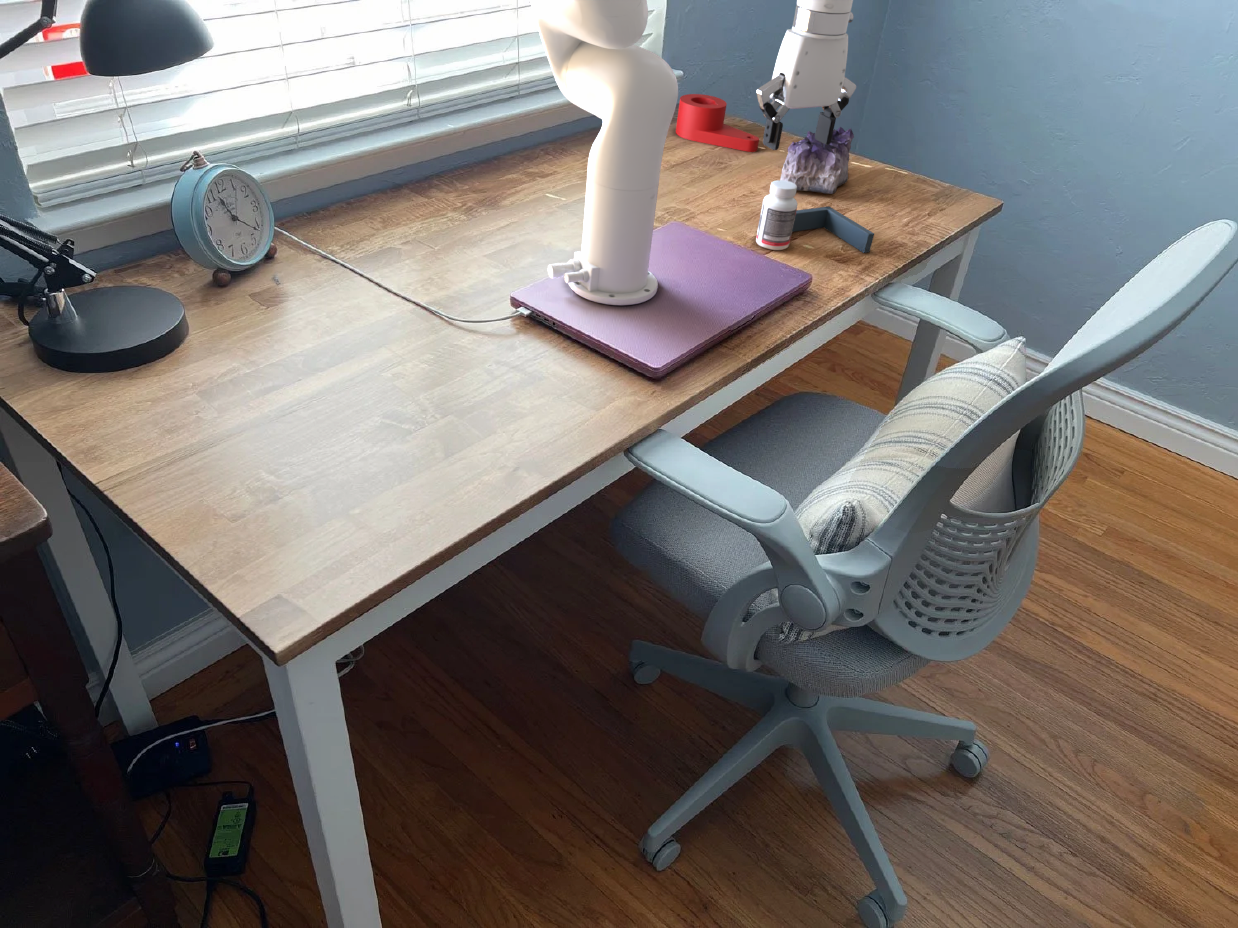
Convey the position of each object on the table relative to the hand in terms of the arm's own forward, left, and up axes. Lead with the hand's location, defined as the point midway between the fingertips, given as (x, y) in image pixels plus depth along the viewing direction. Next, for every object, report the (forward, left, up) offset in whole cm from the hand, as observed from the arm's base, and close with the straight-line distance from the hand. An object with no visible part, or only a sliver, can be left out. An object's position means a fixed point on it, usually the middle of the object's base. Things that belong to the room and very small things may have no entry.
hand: (796, 144), depth 143 cm
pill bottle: (-1, 0, -16) cm, 16 cm away
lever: (+19, +47, -16) cm, 54 cm away
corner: (+7, -2, -16) cm, 18 cm away
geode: (+25, +22, -16) cm, 37 cm away
